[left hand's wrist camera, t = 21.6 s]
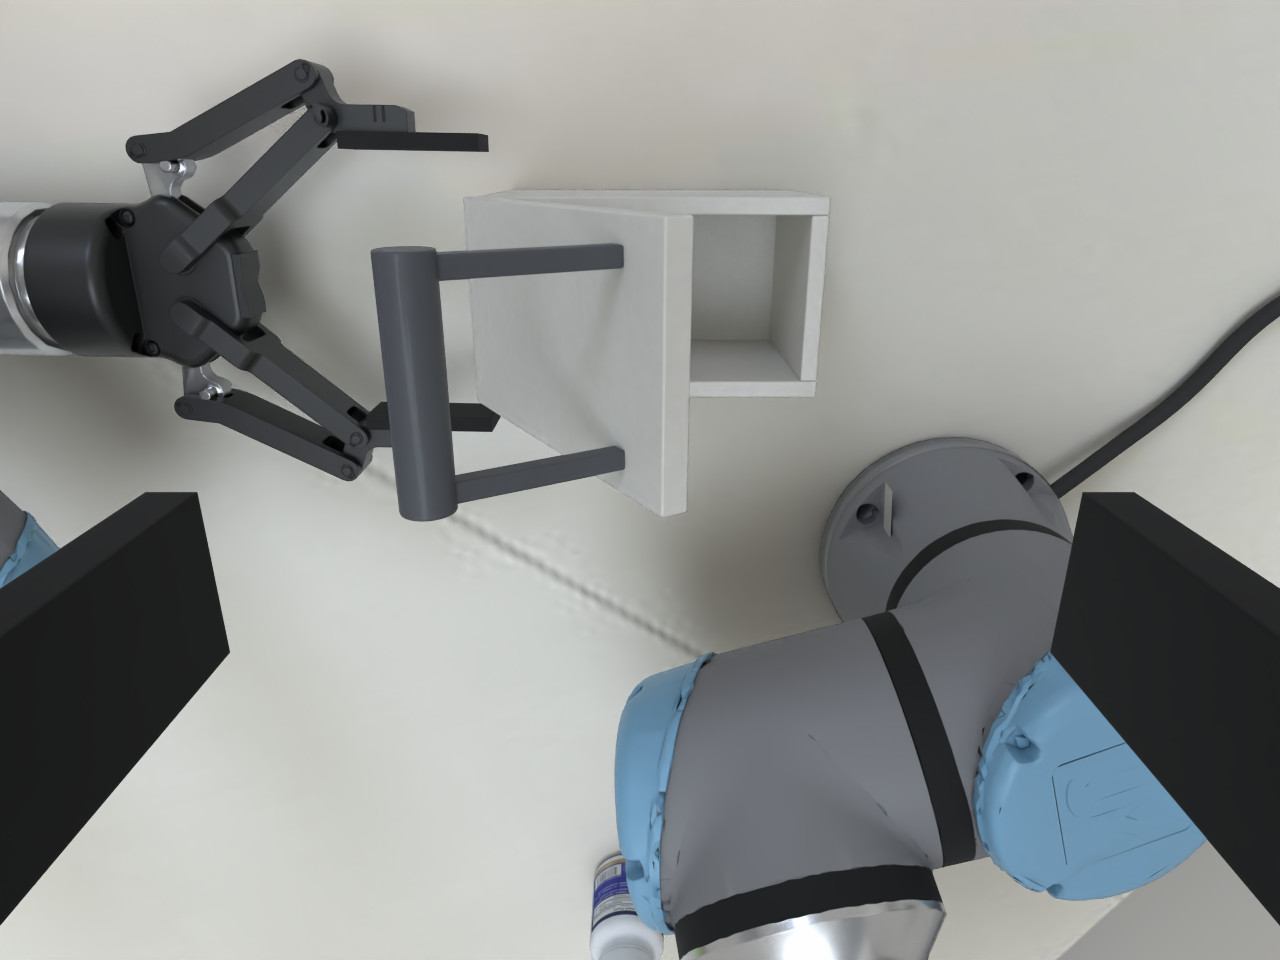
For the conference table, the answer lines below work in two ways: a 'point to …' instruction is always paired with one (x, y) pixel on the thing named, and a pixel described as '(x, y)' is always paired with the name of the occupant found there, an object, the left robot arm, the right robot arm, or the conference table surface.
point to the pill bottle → (619, 919)
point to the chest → (741, 282)
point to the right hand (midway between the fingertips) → (491, 288)
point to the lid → (546, 350)
